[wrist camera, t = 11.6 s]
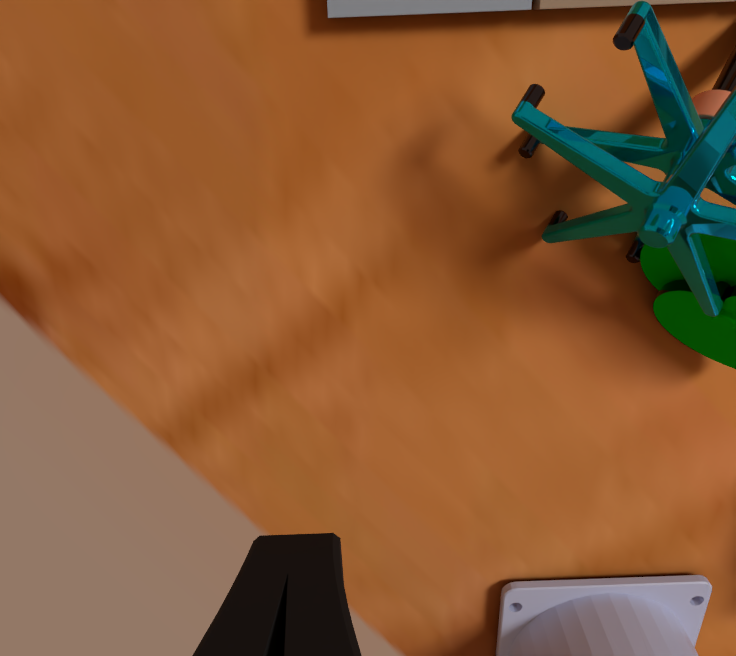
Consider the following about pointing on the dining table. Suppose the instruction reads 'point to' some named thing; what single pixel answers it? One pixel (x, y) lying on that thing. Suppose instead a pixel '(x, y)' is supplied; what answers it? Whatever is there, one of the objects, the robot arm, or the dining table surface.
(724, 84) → the stick construction toy
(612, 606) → the robot arm
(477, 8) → the track tiles
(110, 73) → the dining table surface
